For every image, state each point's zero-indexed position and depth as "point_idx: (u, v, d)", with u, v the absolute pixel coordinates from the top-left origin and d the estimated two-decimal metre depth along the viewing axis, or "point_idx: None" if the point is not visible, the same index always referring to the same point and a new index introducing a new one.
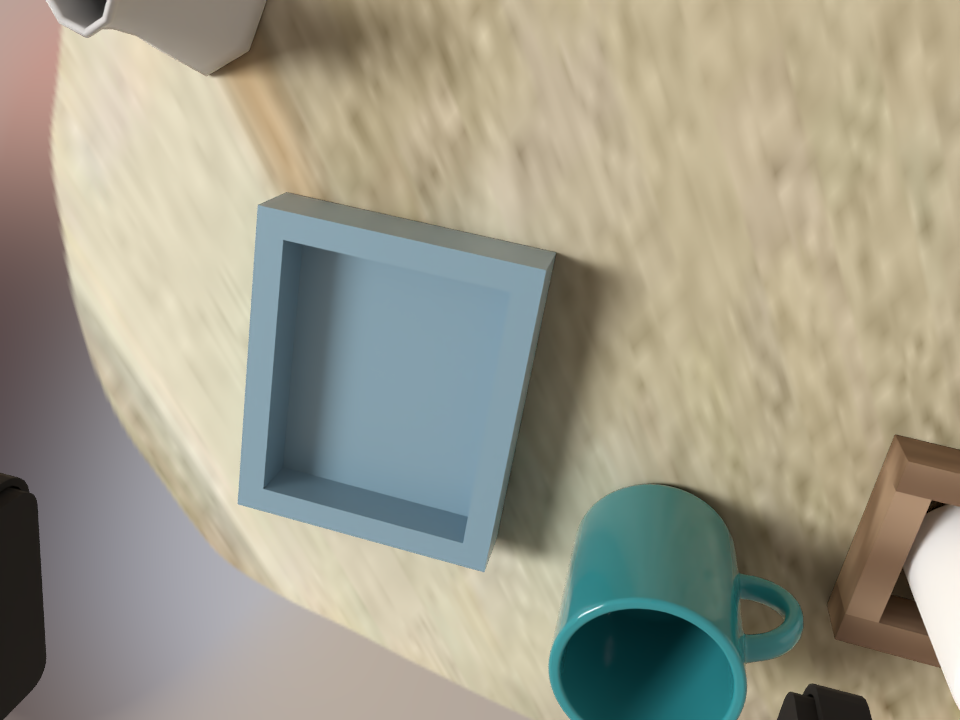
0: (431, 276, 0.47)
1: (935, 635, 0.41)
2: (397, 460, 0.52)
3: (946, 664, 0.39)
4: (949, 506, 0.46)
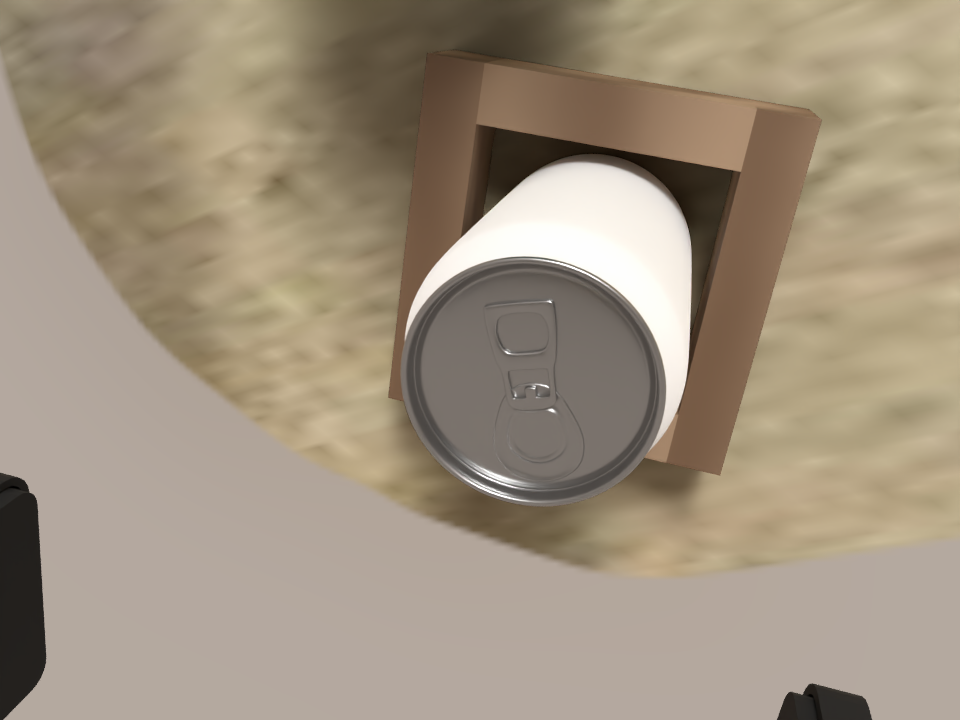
0: None
1: (554, 194, 0.21)
2: None
3: (538, 211, 0.20)
4: (682, 212, 0.28)
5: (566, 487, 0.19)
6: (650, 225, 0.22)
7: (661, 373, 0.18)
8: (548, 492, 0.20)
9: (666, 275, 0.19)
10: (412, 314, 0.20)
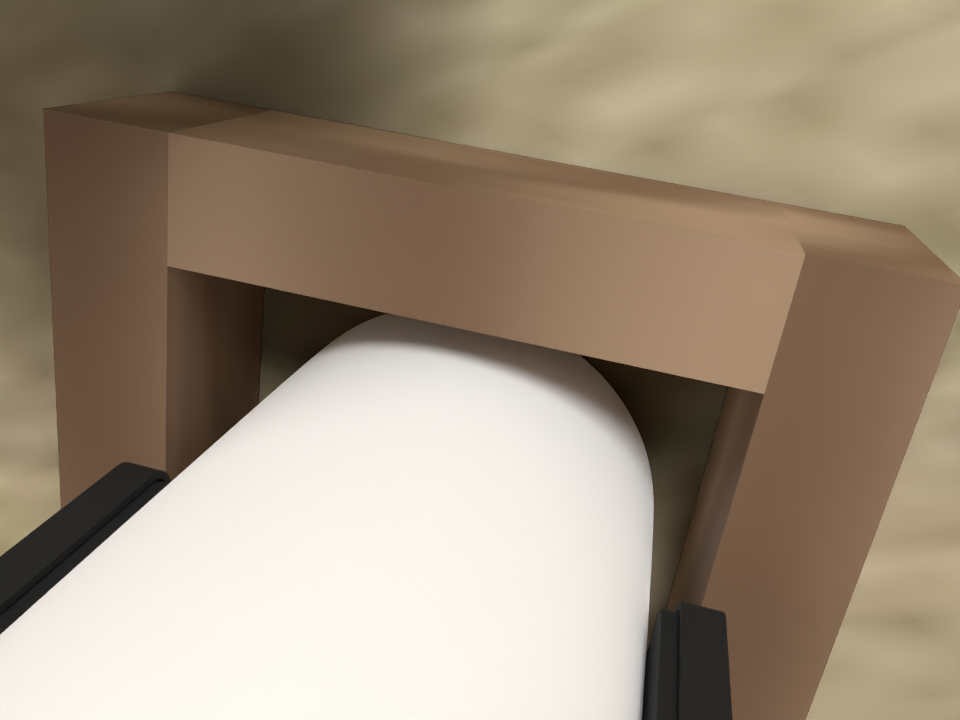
0: None
1: (213, 566, 0.07)
2: None
3: None
4: (634, 429, 0.13)
5: None
6: (511, 636, 0.07)
7: None
8: None
9: None
10: None
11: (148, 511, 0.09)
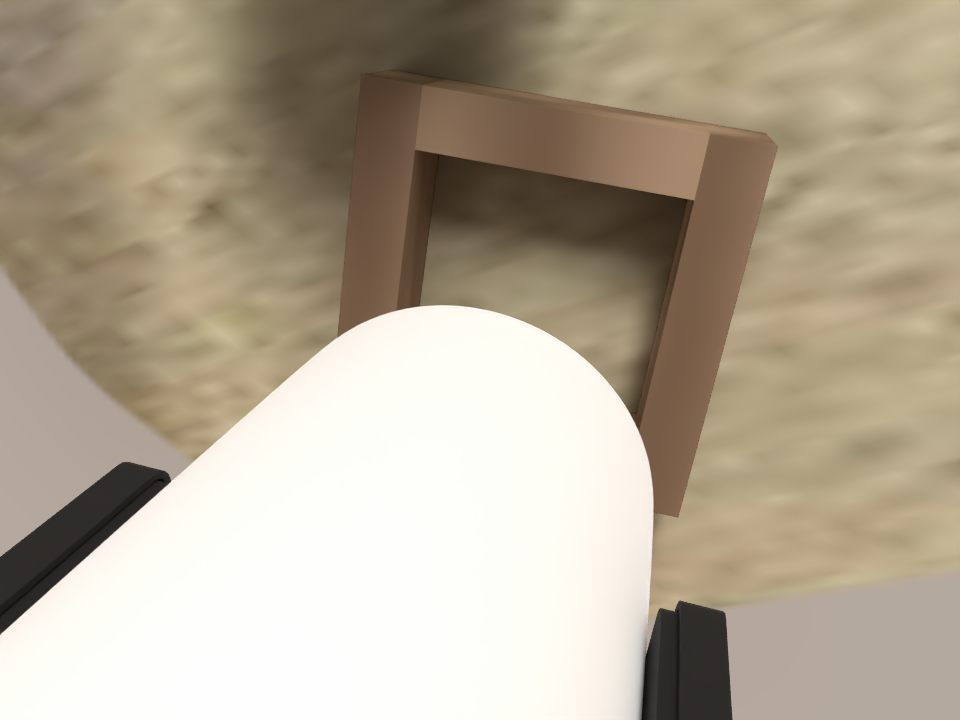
0: None
1: (215, 564, 0.07)
2: None
3: None
4: (634, 428, 0.13)
5: None
6: (511, 635, 0.07)
7: None
8: None
9: None
10: None
11: (149, 510, 0.09)
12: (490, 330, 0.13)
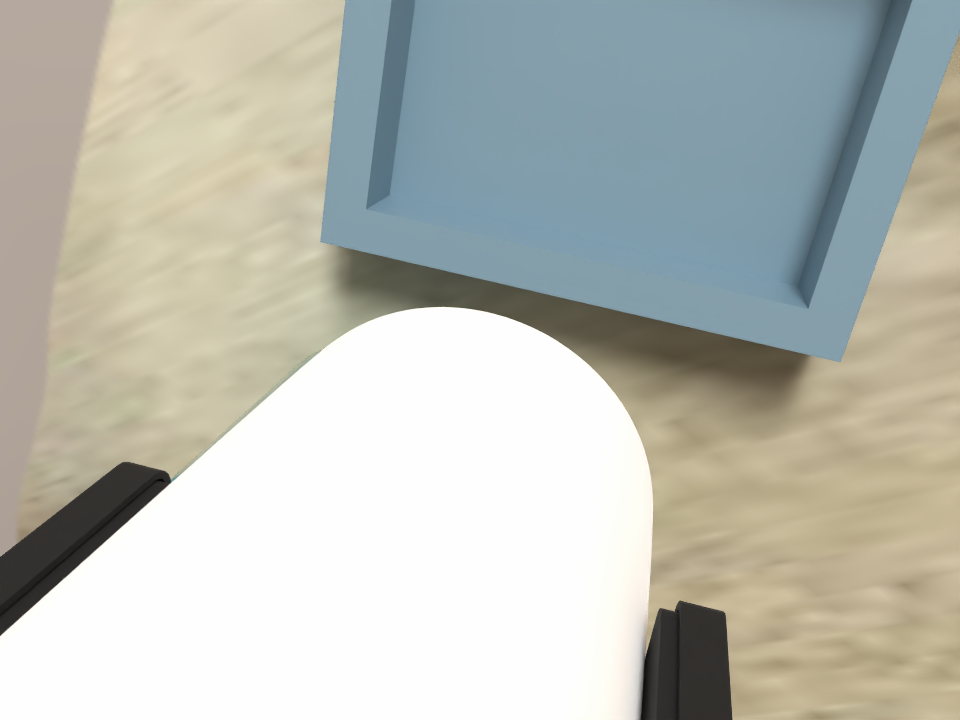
0: (810, 146, 0.29)
1: (213, 568, 0.07)
2: (476, 66, 0.31)
3: None
4: (633, 430, 0.13)
5: None
6: (510, 638, 0.07)
7: None
8: None
9: None
10: None
11: (147, 513, 0.09)
12: (489, 332, 0.13)
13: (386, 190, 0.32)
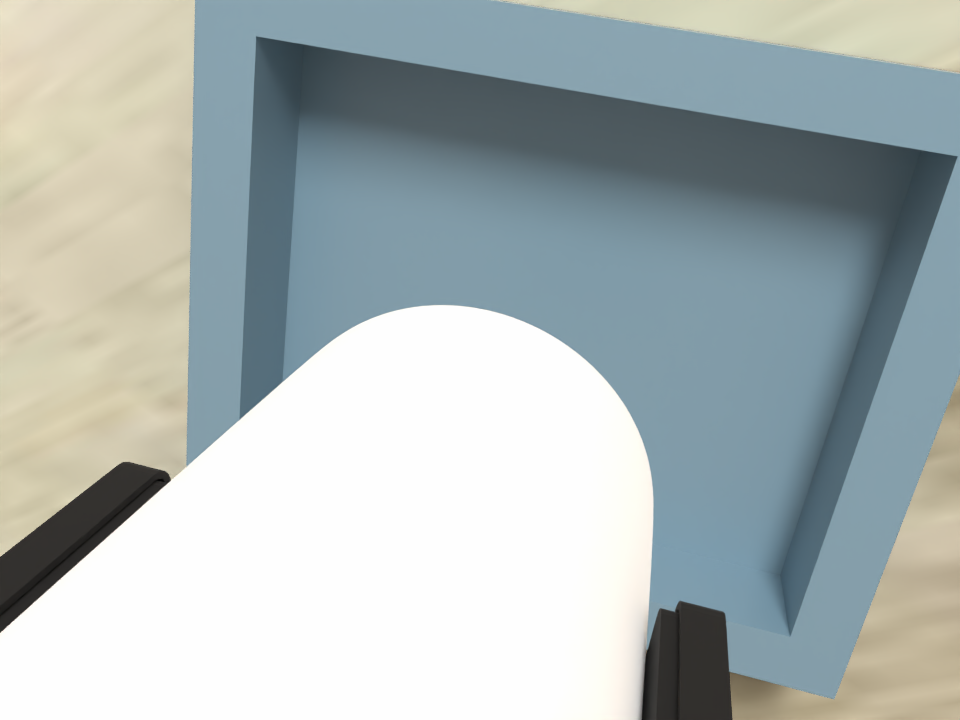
0: (788, 418, 0.23)
1: (212, 566, 0.07)
2: (370, 312, 0.25)
3: None
4: (634, 429, 0.13)
5: None
6: (511, 636, 0.07)
7: None
8: None
9: None
10: None
11: (147, 511, 0.09)
12: (489, 330, 0.13)
13: None
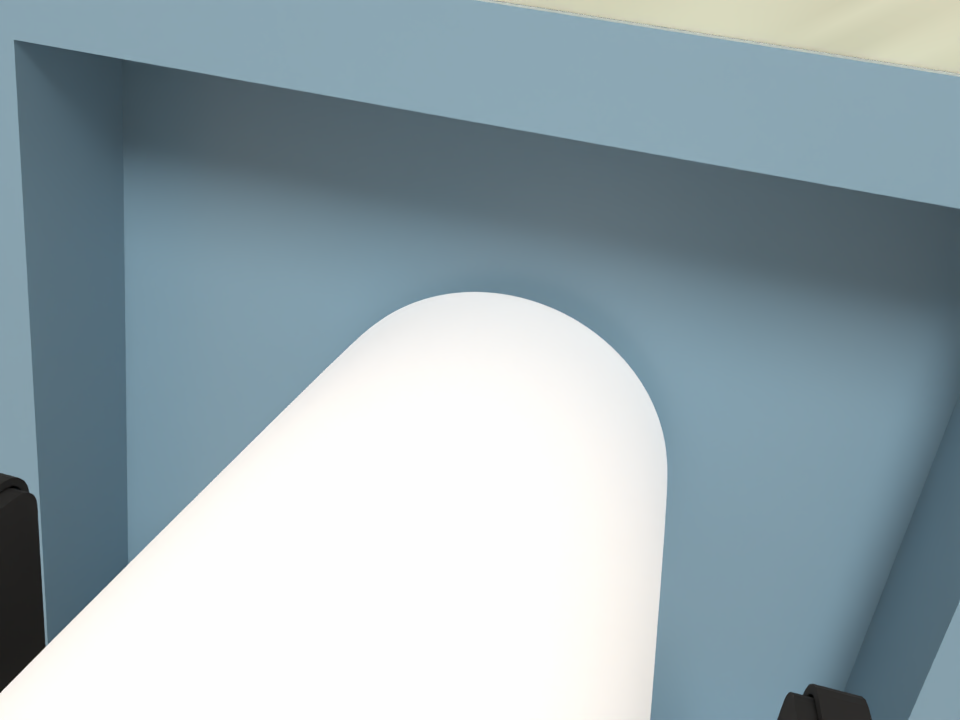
0: (822, 582, 0.16)
1: (295, 518, 0.08)
2: (237, 422, 0.18)
3: (182, 652, 0.07)
4: (649, 402, 0.15)
5: None
6: (542, 576, 0.09)
7: None
8: None
9: None
10: None
11: (229, 476, 0.10)
12: (517, 314, 0.14)
13: None
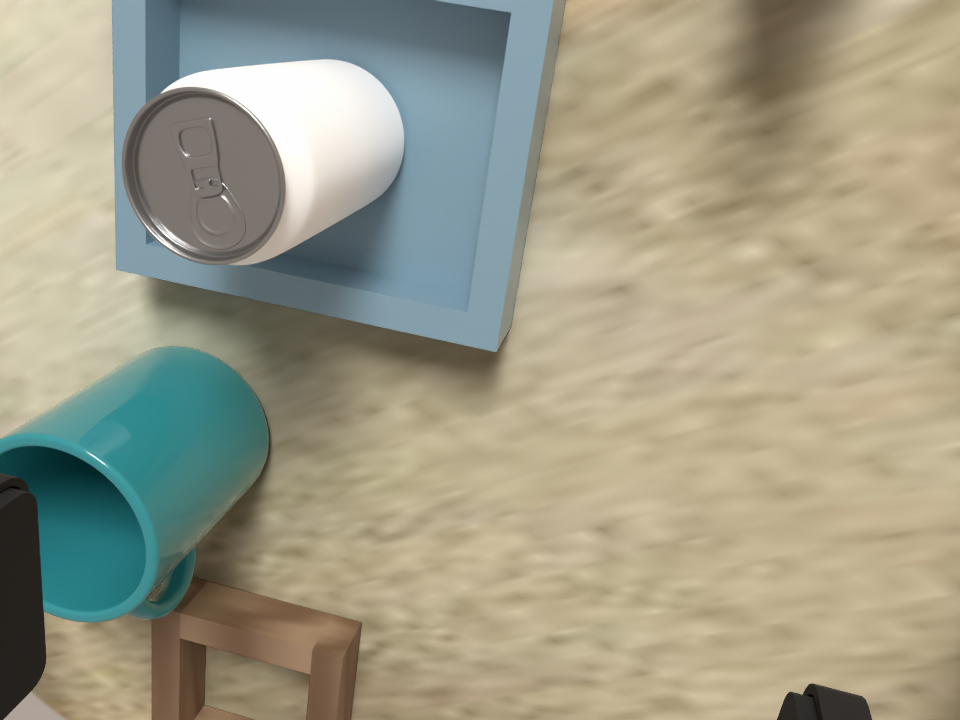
0: (472, 188, 0.38)
1: None
2: None
3: None
4: (392, 101, 0.37)
5: (240, 253, 0.29)
6: (317, 87, 0.31)
7: (278, 161, 0.27)
8: (228, 257, 0.29)
9: (303, 109, 0.29)
10: None
11: None
12: (337, 61, 0.37)
13: None
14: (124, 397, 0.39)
